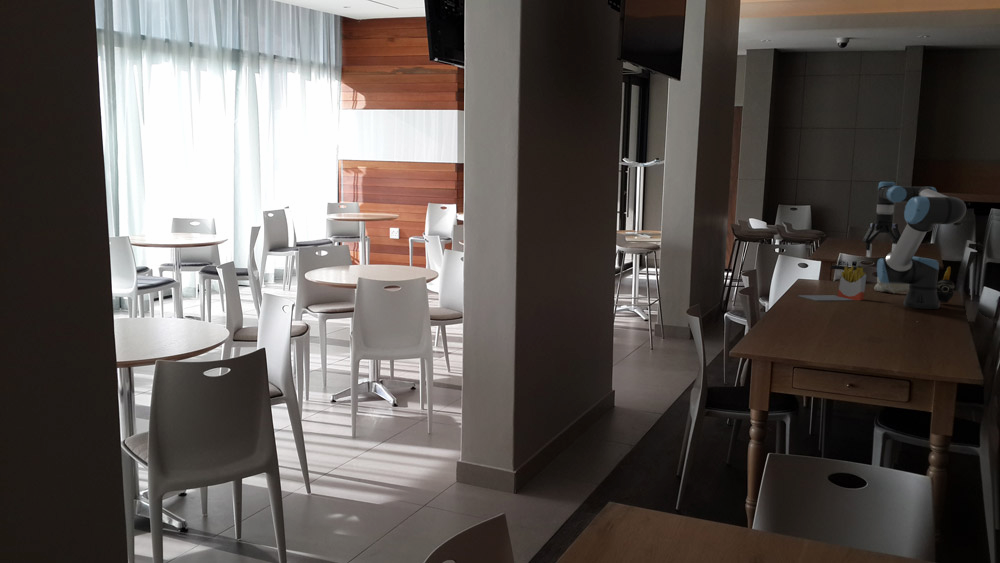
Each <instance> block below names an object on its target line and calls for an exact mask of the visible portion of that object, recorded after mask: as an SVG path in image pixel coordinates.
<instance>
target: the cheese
mask: <svg viewBox="0 0 1000 563" xmlns="http://www.w3.org/2000/svg"><path fill="white" fill-rule="evenodd" d="M876 281H877V283H876V284H875V285H874V287H873V289H874V291H877V292H880V293H892V294H894V295H895V294H897V293H908V290H909V284H888V283H882V282H880V281H879V279H878V276H877V277H876Z"/></svg>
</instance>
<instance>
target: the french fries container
mask: <svg viewBox="0 0 1000 563" xmlns="http://www.w3.org/2000/svg"><path fill="white" fill-rule="evenodd" d="M853 268H854V267H851V269H850V268H848V267H845V268H844V272H842V275H841V280H840V281H839V286H838V293H837V296H838V297H843V298H848V299H852V300H853V301H854V300H855V301H864V297H865V296H864V295H865V291H866V290H865V289H866V280H867V274H866V272H864V267H861V268H859V267H857V270H854V273H853Z"/></svg>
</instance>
